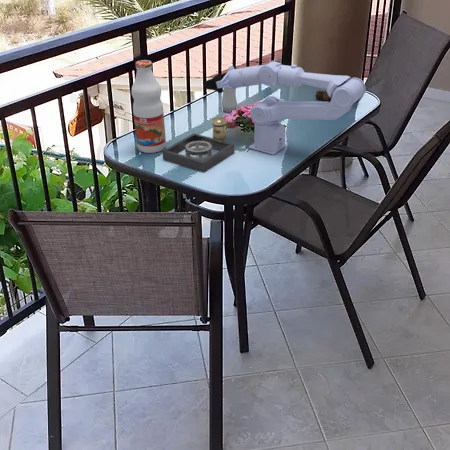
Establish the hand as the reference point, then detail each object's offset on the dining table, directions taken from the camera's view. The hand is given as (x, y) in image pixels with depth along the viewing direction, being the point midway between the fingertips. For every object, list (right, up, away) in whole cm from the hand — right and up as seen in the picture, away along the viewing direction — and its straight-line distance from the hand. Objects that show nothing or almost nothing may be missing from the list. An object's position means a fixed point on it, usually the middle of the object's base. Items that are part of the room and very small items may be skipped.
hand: (211, 82), depth 190 cm
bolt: (+46, 0, +33) cm, 57 cm away
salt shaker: (+6, -4, +28) cm, 29 cm away
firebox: (-4, -24, -4) cm, 25 cm away
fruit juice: (-19, -21, +2) cm, 29 cm away
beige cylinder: (+3, -18, +6) cm, 19 cm away
